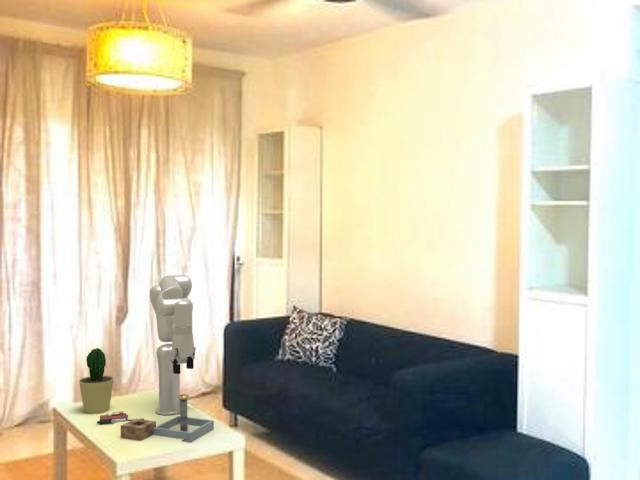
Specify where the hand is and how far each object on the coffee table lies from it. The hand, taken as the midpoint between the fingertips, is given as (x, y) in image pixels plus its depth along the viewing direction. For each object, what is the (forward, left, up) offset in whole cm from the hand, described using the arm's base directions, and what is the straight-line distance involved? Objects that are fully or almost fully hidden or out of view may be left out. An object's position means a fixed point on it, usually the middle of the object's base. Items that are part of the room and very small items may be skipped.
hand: (183, 371), depth 275 cm
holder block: (+12, -14, -26) cm, 32 cm away
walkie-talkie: (-3, -35, -27) cm, 44 cm away
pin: (0, 0, -25) cm, 25 cm away
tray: (0, 0, -26) cm, 26 cm away
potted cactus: (-13, -57, -26) cm, 64 cm away
